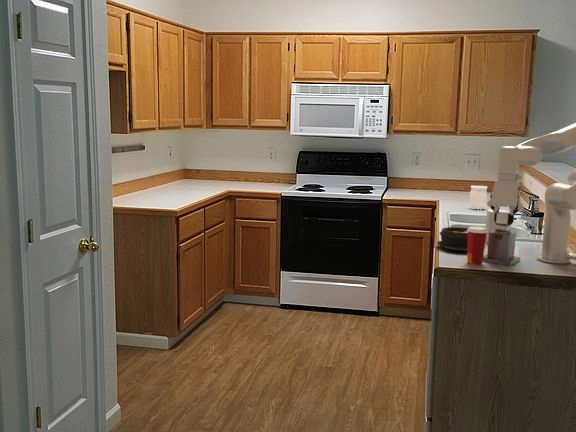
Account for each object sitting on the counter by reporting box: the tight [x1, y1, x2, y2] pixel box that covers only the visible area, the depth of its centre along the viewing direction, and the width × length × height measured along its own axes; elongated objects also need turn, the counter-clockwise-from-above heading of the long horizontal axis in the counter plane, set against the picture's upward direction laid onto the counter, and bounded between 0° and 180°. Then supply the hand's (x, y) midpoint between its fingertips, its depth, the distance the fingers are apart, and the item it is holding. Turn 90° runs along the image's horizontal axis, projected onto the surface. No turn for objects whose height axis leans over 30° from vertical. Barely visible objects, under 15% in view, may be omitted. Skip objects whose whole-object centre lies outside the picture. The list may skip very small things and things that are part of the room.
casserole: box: [436, 226, 469, 252], centre depth 273 cm, size 25×19×8 cm
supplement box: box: [485, 208, 508, 245], centre depth 290 cm, size 9×9×15 cm
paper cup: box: [466, 226, 487, 266], centre depth 245 cm, size 8×8×14 cm
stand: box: [482, 231, 521, 267], centre depth 251 cm, size 12×12×12 cm
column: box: [495, 211, 512, 235], centre depth 250 cm, size 4×4×18 cm
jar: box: [469, 184, 488, 211], centre depth 403 cm, size 11×10×15 cm
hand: (503, 223), depth 249 cm, fingers closed on column, 4 cm apart
